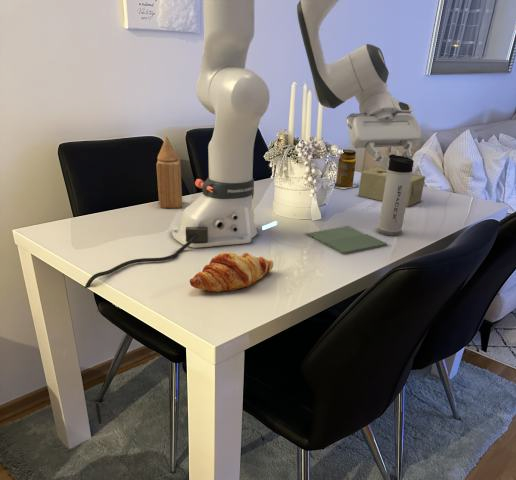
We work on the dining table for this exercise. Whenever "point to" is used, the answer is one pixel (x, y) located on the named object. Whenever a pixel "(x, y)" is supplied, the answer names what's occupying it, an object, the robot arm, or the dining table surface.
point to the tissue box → (376, 179)
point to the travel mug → (395, 195)
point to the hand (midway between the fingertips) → (393, 159)
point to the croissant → (231, 272)
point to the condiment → (346, 170)
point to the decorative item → (169, 177)
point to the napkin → (347, 240)
